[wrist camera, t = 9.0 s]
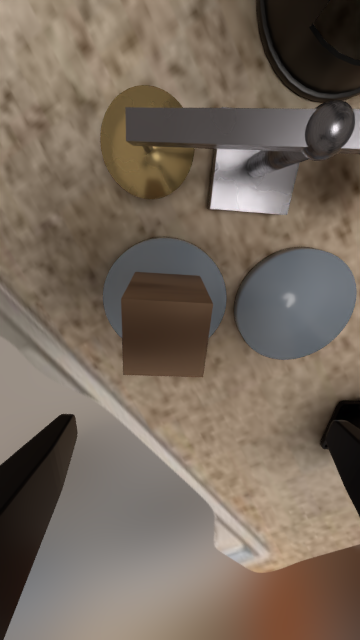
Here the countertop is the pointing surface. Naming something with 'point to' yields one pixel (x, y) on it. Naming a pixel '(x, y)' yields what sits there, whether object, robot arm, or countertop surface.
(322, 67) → the french press
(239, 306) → the plate
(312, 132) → the balance
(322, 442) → the robot arm
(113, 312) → the plate
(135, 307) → the walnut block
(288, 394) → the countertop surface
